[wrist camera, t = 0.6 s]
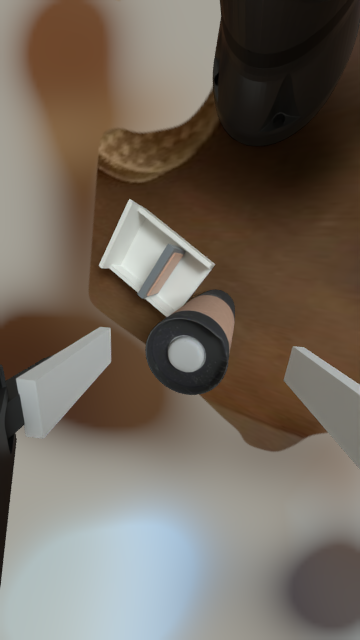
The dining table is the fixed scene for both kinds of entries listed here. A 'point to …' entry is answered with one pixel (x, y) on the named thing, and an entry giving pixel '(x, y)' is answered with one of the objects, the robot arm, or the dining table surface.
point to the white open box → (153, 257)
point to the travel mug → (193, 344)
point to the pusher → (161, 270)
